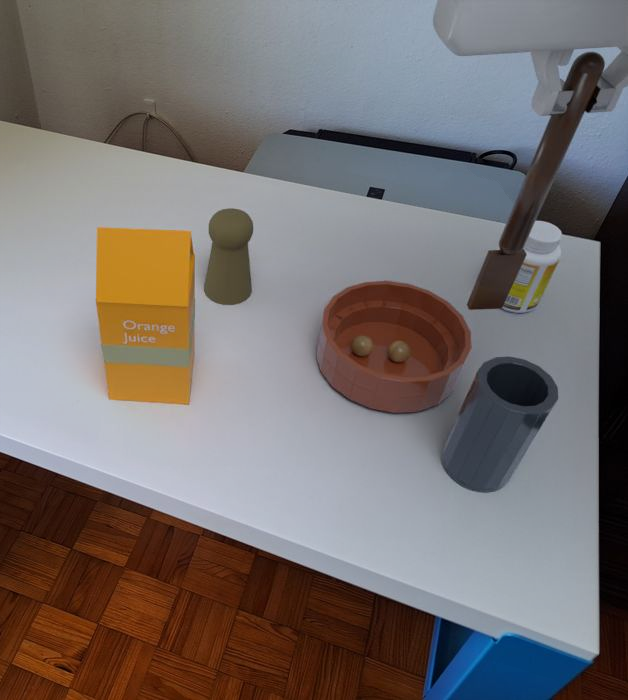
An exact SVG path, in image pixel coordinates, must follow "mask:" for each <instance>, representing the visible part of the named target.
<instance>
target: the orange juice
mask: <svg viewBox="0 0 628 700" xmlns="http://www.w3.org/2000/svg"><path fill="white" fill-rule="evenodd" d="M194 251H195V250H194V245H193V238H192V230H175V229H151V228H129V227H128V228H127V227H126V228H125V227H102V226H101V227H100V226H97V227H96V266H95V267H96V269H95V271H96V273H95V274H96V275H95V306H96V312H97V319H98V326H99V334H100V335H99V336H100V342H101V344H100V346H101V354H102V360H103V364H104V370H105V371H104V372H105V378H106V386H107V392H108V400H109V401H110V400H111V401H112V400H113V401H124V402H125V401H126V402H141V403H142V402H143V403H159V404H174V405H187V406H188V405H190V400H191V393H192V392H191V391H192V381H193V372H194V363H195V353H196V352H195V351H196V349H195V347H196V345H195V344H196V343H195V336H196V335H195V333H196V331H195V324H196V323H195V321H196V297H195V296H196V294H195V293H196V292H195V291H196V286H195V285H196V277H195V275H196V254H195V252H194Z"/></svg>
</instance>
